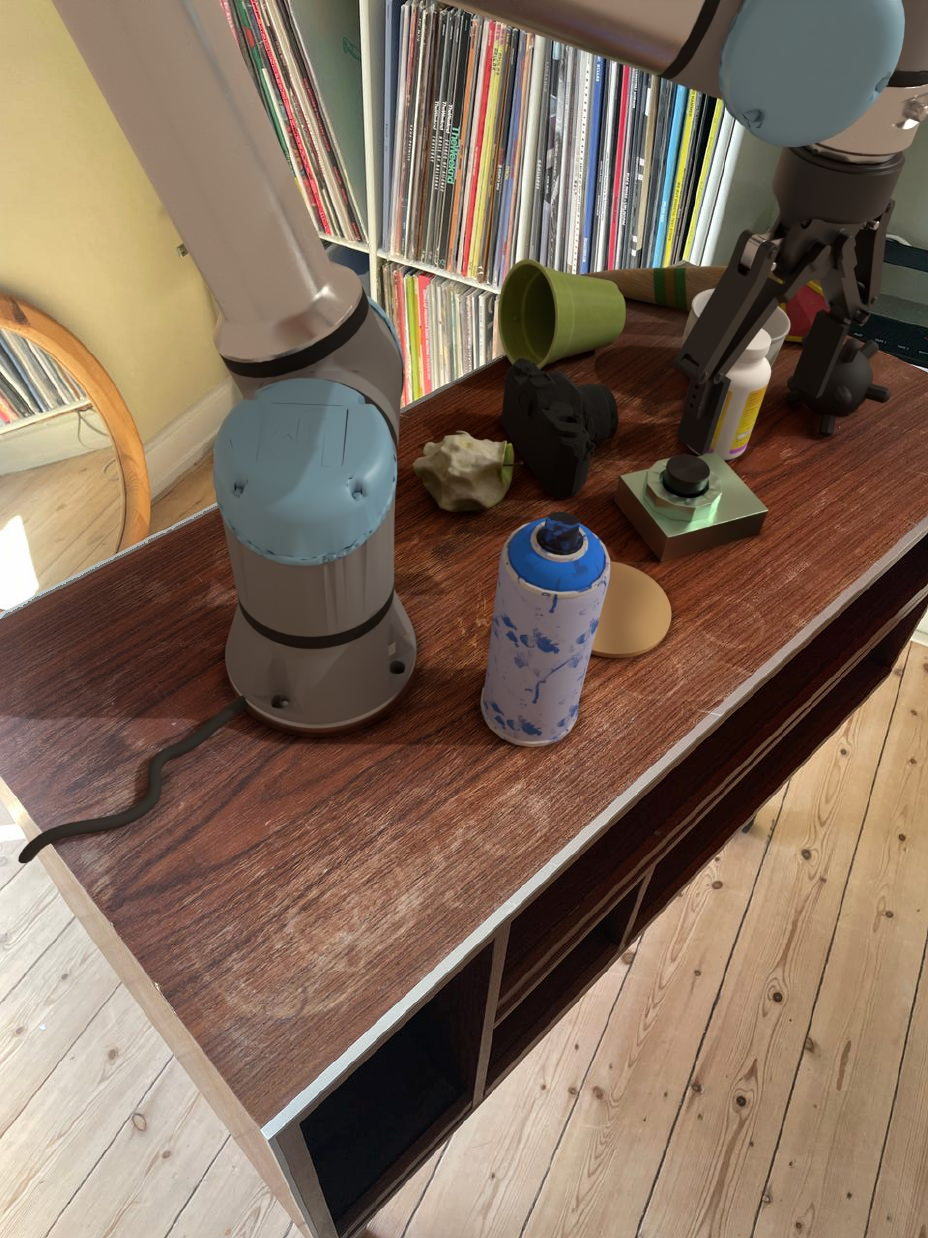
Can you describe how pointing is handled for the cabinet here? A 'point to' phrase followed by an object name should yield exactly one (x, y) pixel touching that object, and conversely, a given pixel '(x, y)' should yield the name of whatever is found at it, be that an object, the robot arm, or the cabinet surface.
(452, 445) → the fruit
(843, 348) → the toy ball
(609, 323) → the plant pot
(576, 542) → the aerosol can
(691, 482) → the button
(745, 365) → the supplement bottle
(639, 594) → the coaster
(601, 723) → the cabinet surface
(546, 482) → the film camera
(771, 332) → the teacup
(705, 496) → the green knob plate
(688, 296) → the wooden v shape
